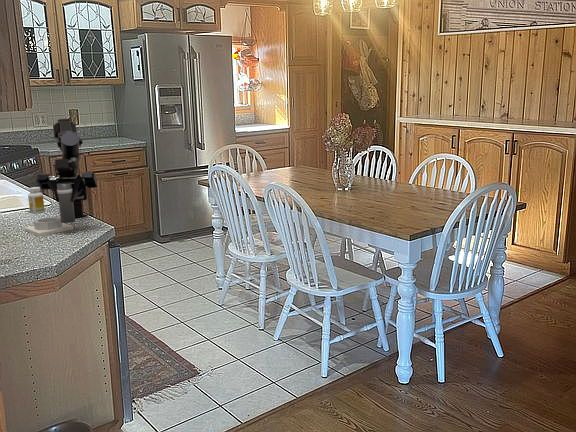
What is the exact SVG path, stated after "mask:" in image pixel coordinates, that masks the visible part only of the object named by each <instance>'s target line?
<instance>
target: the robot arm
mask: <svg viewBox="0 0 576 432" xmlns="http://www.w3.org/2000/svg"><path fill="white" fill-rule="evenodd" d="M76 125H77V124H75V123H73V122H72V119H71V118H59V119H57V122H56V123H54V124H53V125H52V130H53V139H55V140H56V146H57V149H59V150H60V151H61V153H62V155H61V159H60V158H58V159H57V158H56V159H55V160H54V170H56V174H57V176H56V175H55V176H54V175H51V173H39V174H37V176H36V182H37V184H38V187H40V190H43V191H45V190H48V191H49V190H50V191H51V192H53V194H54V198H55V202H56V203H58V204H59V200H58V193H57V183H62V182H71V187H72V197H71V201H72V202H73V205H74V214H75V219H77V218H81V217H87V216H88V214H87V213H84V209H83V201H86V200H88V191H87V188H88V189H92V188H93V189H94V188H95V189H97V187H98V179H97V176H96V174H95V172H93V171H92V172H91V171H90V172H89V171H88V172H86V171H85V172H82V173H81V175H80V171H79V167H80V166H79V165H80V156H81V154H80V147H81V146H82V144H84V143H83V140H82V139H81V138H80V136H78V133H77V132H78V131H77V126H76Z"/></svg>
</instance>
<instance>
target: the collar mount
mask: <svg viewBox="0 0 576 432" xmlns="http://www.w3.org/2000/svg"><path fill="white" fill-rule="evenodd" d="M23 228H24V231H25V232H27V233H30V234H33V235H35V236H37V237H41V236H42V237H43V236H47V235H48V236H49V235H51V234H56V233H61V232H67V231H71V230H74V226H73V225H71V224H68V223H61V217H60V216H55V217H54V216H51V217H42V218H37V219H35V220H34V221H33V225H30V226H26V227H25V226H24V227H23Z"/></svg>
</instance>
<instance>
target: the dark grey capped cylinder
mask: <svg viewBox="0 0 576 432" xmlns="http://www.w3.org/2000/svg"><path fill="white" fill-rule="evenodd" d="M57 193H58V200H59V202H58V208H59V218H61V223H64V224H69V223H74V222H76V218H75V214H74V205H73V202H72V201H71V197H72V187H71V182H62V183H57Z"/></svg>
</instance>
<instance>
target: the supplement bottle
mask: <svg viewBox="0 0 576 432" xmlns="http://www.w3.org/2000/svg"><path fill="white" fill-rule="evenodd" d="M28 189H29V193H28V195H27V197H28V206H29V213H30V214H40V213H44V212H45V210H46V209H45V201H44V200H45V199H44V195H43V192H41V188H40V186H33V187H29V188H28Z"/></svg>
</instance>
